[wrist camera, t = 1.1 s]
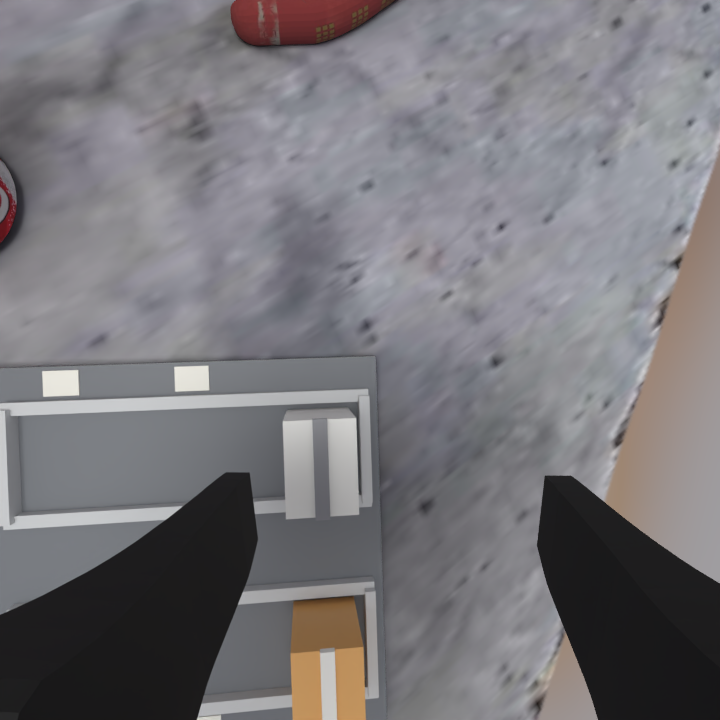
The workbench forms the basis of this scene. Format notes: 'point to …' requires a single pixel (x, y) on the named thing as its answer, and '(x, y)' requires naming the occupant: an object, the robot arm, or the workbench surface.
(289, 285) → the workbench surface
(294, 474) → the fader white
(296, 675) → the fader orange
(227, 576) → the robot arm
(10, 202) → the beverage can
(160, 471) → the plate
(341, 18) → the pliers
